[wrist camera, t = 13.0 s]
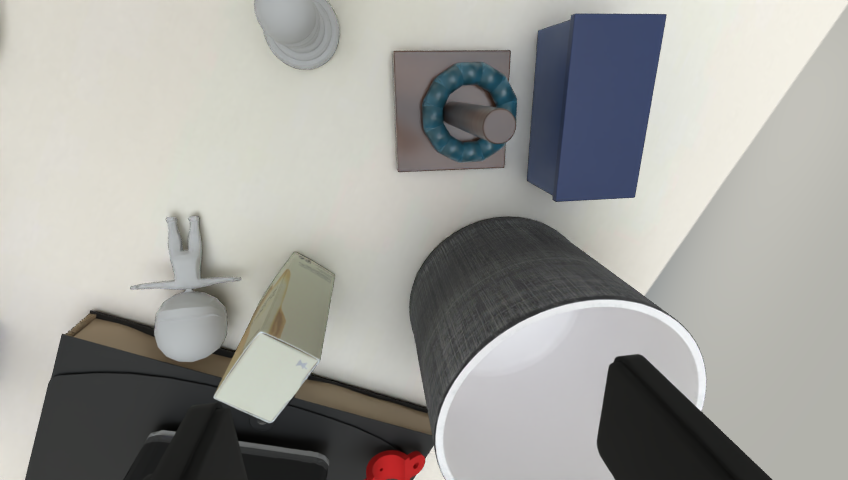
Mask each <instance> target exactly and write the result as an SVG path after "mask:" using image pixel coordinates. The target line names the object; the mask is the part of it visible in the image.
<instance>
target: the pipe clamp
mask: <svg viewBox="0 0 848 480" xmlns="http://www.w3.org/2000/svg"><path fill="white" fill-rule="evenodd" d="M424 464H425V457H424V456H423V455H422V454H421V453H420V452H419V451H414V452H412V453H410V454H408V455H406V454H405V453H403V452H400V451H396V450H388V451H383V452H381V453H378V454H377V455H375V456H374V457H373V458H372V459H371V460H370V461H369V463H368V465H367V468H366V479H364V480H386V479H398V480H410V478H411V477H413V476H415V475H416V474H418V473H419V472H420V471H421V470H422V468H423V466H424Z"/></svg>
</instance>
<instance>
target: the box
mask: <svg viewBox="0 0 848 480" xmlns="http://www.w3.org/2000/svg"><path fill="white" fill-rule="evenodd" d="M665 21H666V14H573V15H571V20H569V21H566V22H563V23H560V24H557V25H554V26H551V27H548V28H545V29H542V30H539V31H538V41H537V54H536V67H535V80H534V94H533V107H532V120H531V133H530V146H529V160H528V173H527V181H528V182H530V183H532V184H533V185H535V186H537V187H539V188H540V189H542V190H544V191H546V192H547V193H549V194H551V195H553V200H554V201H555V202H560V201H579V200H598V199H617V198H634V197H635V193H636V187H637V182H638V176H639V170H640V164H641V159H642V153H643V147H644V141H645V136H646V130H647V124H648V118H649V113H650V107H651V101H652V95H653V90H654V84H655V78H656V73H657V67H658V61H659V55H660V50H661V44H662V38H663V32H664V27H665Z"/></svg>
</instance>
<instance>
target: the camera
mask: <svg viewBox="0 0 848 480" xmlns="http://www.w3.org/2000/svg"><path fill="white" fill-rule="evenodd" d="M175 433H176V431H167V430H160V431H156V432H152V433H151V434H150V435H149V436H148V438H147V440H146V441H145V443H144V445H143V447H142V448H141V450H140V452H139V453H138V455H137V457H136V459H135V460H134V462H133V464H132V466H131V467H130V469H129V471H128V472H127V474H126V476H125V478H124V479H123V480H143V479H144V478H145V477H146V476H147V475H149V474H153V473H154V471H155V469H156V467H157V465H158V464H159V462H160V460H161V458H162V456H163V455H164V453H165V451H166V449H167V447H168V445H169V444H170V442H171V440H172V438H173V436H174V435H175ZM238 442H239V446H240V450H241V454H242V458H243V462H244V466H245V470H246V474H247V478H248V480H326V479H327V474H328V466H329V460H328V458H327V457H326V456H325V455H323V454H320V453H318V452H312V451H304V450H297V449H290V448H283V447H277V446H270V445H263V444H256V443H249V442H242V441H238Z"/></svg>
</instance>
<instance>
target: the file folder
mask: <svg viewBox="0 0 848 480" xmlns="http://www.w3.org/2000/svg"><path fill="white" fill-rule="evenodd" d="M234 354H235V352H231V351H228V350H224V349H221V348H219V349H217V350H216V351H215V352H213V353H212V354H211V355H209V356H208V357H206V358H203V359H200V360H197V361H194V362H178V361H176V360H174V359H171V358H169V357H166V356H165V354H164V353H163V352H162V351H161V350H160V349H159V348H158V346H157V342H156V339H155V336H154V329H153V328H149V327H146V326H143V325H139V324H136V323H132V322H129V321H126V320H122V319H119V318H115V317H112V316H108V315H105V314H102V313H98V312H95V311H90V314H88V315H87V316H86V318H84V320H83V319H82V321H80V323H78V324H76V326H75V327H73V328H72V329H71V331H68V333H66V334H62V336H61V340H60V344H59V348H58V352H57V357H56V361H55V365H54V369H53V373H52V377H51V380H50V382H49V384H48V388H47V392H46V396H45V400H44V404H43V408H42V412H41V417H40V421H39V425H38V429H37V433H36V437H35V441H34V445H33V449H32V453H31V457H30V462H29V466H28V470H27V474H26V478H25V480H123V479H124V478H125V476H126V474H127V472H128V471H129V469H130V467H131V466H132V464H133V462H134V460H135V459H136V457H137V455H138V453H139V452H140V450H141V448H142V447H143V445H144V443H145V441H146V440H147V438H148V436H149V435H150V434H151V433H152V432H156V431H160V430H167V431H177V429H178V427H179V426H180V424H181V422H182V420H183V418H184V417H185V415H186V413H187V411H188V410H189V408H190V407H191V406H193V405H199V404H208V403H216V402H219V403H221V404H222V407H223V408H229V409H230V411H231V414H232V418H233V422H234V426H235V430H236V434H237V438H238V441H242V442H249V443H256V444H263V445H270V446H277V447H283V448H290V449H297V450H304V451H312V452H318V453H320V454H323V455H325V456H326V457H327V458H328V460H329V466H328V474H327V479H326V480H364V479H366V468H367V465H368V463H369V461H370V460H371V459H372V458H373V457H374V456H375V455H377V454H378V453H381V452H383V451H388V450H396V451H400V452H403V453H405V454H406V455H408V454H410V453H412V452H414V451H419V452H420V453H421V454H422V455H423V456H424V457H425V458H426V457H427V455H428V453H429V452H430V450H431V449H432V447H433V446H434V442H433V437H432V432H431V426H430V421H429V415H428V410H427V409H425V408H422V407H419V406H415V405H412V404H408V403H405V402H402V401H398V400H395V399H391V398H388V397H384V396H381V395H378V394H374V393H371V392H367V391H364V390H361V389H357V388H354V387H350V386H347V385H344V384H340V383H337V382H333V381H330V380H327V379H323V378H320V377H316V376H313V375H309V376H308V378H307V379H306V380H305V382H304V383H303V384H302V385H301V387H300V388H299V390H298V391H297V392H296V394H295V395H294V396H293V397H292V399H291V400H290V401H289V402H288V404H287V405H286V406H285V408H284V409H283V410H282V411H281V413H280V414H279V415H278V416H277V418H276V419H275V420H274V421H273V422H272V423H268V422H265V421H263V420H261V419H259V418H256V417H254V416H252V415H249V414H247V413H245V412H243V411H240V410H238V409H236V408H234V407H232V406H229V405H227V404H225V403H223V402H221V401H218V400H216V399H214V394H215V392H216V391H217V388H218V386H219V384H220V382H221V380H222V378H223V376H224V374H225V372H226V370H227V368H228V366H229V364H230V362H231V360H232V358H233V356H234ZM415 476H416V475H415ZM415 476H413V477H411V478H410V480H413V479H414V478H415ZM386 480H398V479H386Z"/></svg>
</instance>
